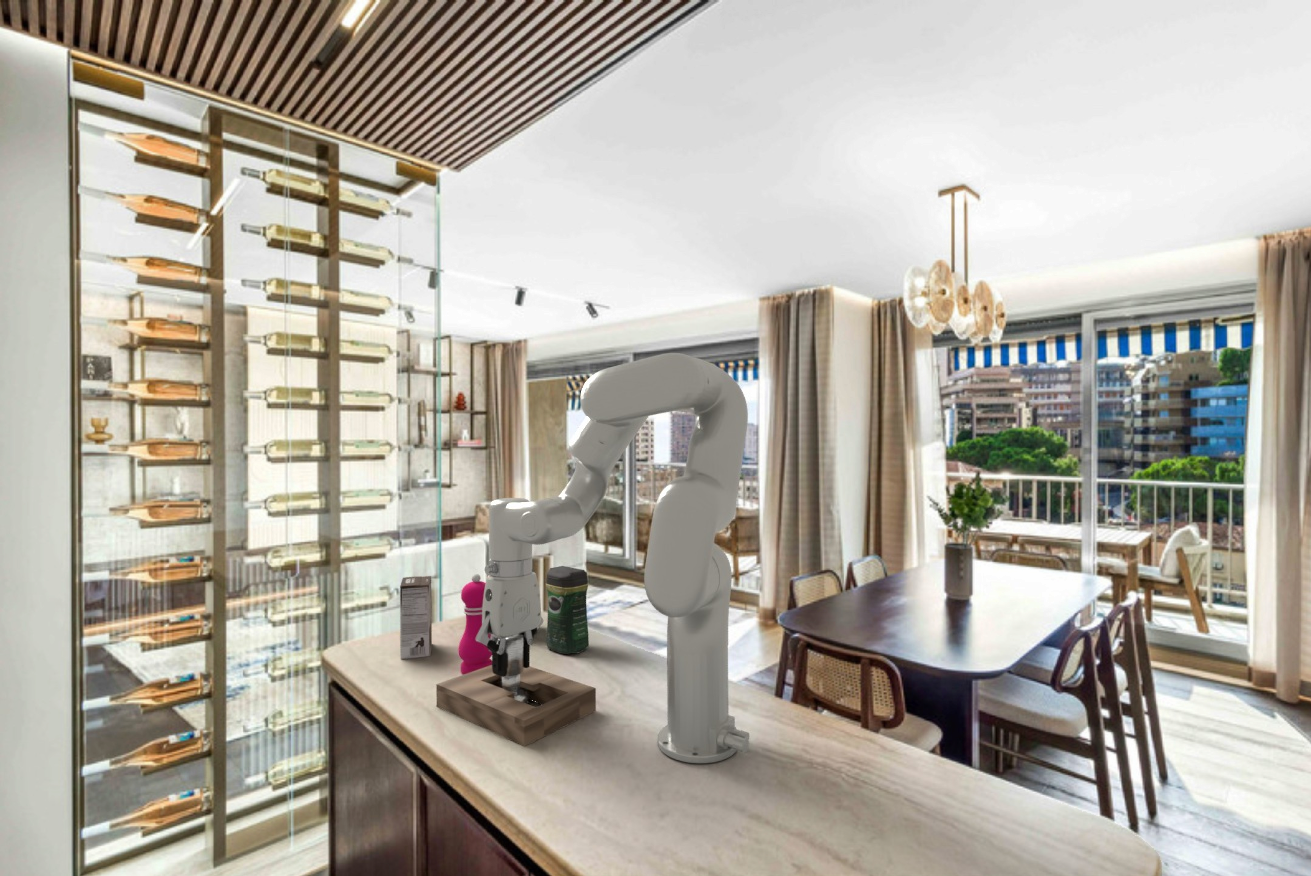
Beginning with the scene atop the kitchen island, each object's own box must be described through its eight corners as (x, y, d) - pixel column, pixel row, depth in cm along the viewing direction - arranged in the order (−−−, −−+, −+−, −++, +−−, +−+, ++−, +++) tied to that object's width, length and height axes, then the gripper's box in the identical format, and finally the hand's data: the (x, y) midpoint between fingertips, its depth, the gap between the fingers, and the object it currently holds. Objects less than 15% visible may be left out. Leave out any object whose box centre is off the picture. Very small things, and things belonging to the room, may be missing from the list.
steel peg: (535, 703, 112) (535, 636, 112) (508, 715, 107) (508, 645, 107) (513, 695, 116) (513, 630, 116) (486, 706, 111) (486, 638, 111)
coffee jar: (594, 648, 143) (594, 567, 143) (567, 657, 137) (567, 572, 137) (567, 639, 149) (566, 561, 149) (540, 648, 143) (540, 567, 143)
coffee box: (402, 646, 145) (402, 576, 145) (432, 643, 147) (432, 574, 147) (399, 659, 136) (398, 585, 136) (430, 656, 138) (430, 583, 138)
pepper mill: (499, 664, 133) (499, 570, 133) (487, 677, 126) (486, 578, 126) (466, 663, 133) (466, 570, 134) (452, 676, 126) (451, 577, 126)
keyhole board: (595, 710, 110) (595, 687, 110) (524, 746, 97) (524, 720, 97) (508, 679, 125) (508, 659, 125) (436, 706, 112) (436, 683, 112)
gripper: (484, 579, 103) (484, 690, 103) (560, 562, 116) (560, 661, 116) (457, 573, 107) (457, 679, 107) (533, 558, 121) (533, 653, 121)
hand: (511, 669), depth 112 cm, fingers closed on steel peg, 4 cm apart
